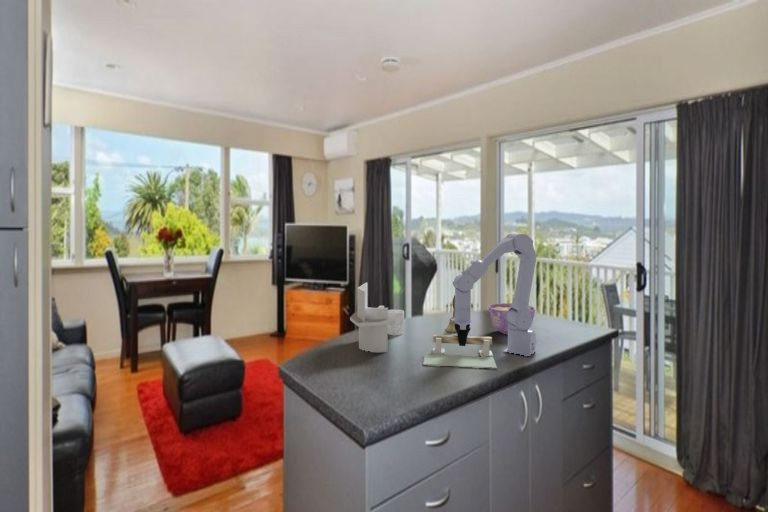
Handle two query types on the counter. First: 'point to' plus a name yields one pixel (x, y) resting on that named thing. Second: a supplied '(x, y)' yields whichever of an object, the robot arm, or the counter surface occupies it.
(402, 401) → the counter surface
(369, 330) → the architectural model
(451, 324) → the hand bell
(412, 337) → the counter surface
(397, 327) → the white cup
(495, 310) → the bowl of food
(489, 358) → the green mat
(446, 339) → the oak rail
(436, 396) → the counter surface
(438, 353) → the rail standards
